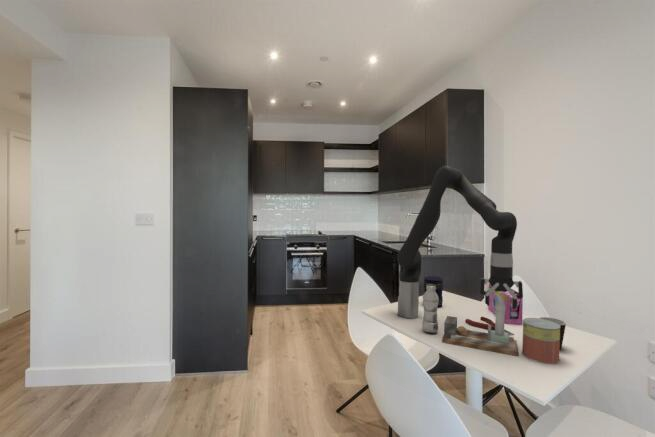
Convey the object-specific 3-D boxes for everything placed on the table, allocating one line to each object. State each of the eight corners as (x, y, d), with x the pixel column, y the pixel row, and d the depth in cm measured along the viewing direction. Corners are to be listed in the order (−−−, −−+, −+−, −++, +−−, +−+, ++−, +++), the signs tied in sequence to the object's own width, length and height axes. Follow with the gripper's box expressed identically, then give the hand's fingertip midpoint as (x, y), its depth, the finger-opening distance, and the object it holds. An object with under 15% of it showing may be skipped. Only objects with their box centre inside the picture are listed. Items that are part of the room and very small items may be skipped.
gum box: (524, 325, 148) (525, 296, 147) (505, 324, 149) (506, 295, 149) (503, 309, 172) (504, 283, 171) (487, 308, 173) (488, 283, 172)
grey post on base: (487, 343, 124) (488, 303, 123) (487, 337, 130) (488, 299, 129) (508, 346, 120) (509, 306, 120) (507, 340, 127) (508, 301, 126)
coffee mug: (566, 353, 119) (566, 326, 119) (538, 348, 124) (538, 322, 124) (563, 342, 129) (564, 317, 129) (537, 337, 134) (538, 313, 134)
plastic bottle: (430, 336, 135) (431, 287, 134) (418, 330, 141) (419, 284, 140) (441, 333, 138) (442, 286, 137) (429, 328, 144) (430, 282, 143)
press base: (442, 342, 128) (442, 323, 128) (445, 332, 139) (446, 314, 139) (518, 356, 117) (519, 335, 117) (516, 344, 128) (516, 325, 127)
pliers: (501, 340, 132) (501, 333, 132) (463, 323, 151) (463, 318, 151) (521, 336, 137) (521, 330, 137) (482, 320, 155) (482, 315, 155)
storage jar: (420, 303, 182) (421, 276, 181) (437, 302, 183) (438, 276, 182) (428, 308, 172) (428, 280, 171) (445, 308, 173) (446, 280, 172)
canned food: (528, 346, 125) (529, 315, 125) (563, 357, 117) (564, 323, 116) (517, 355, 118) (518, 322, 117) (554, 366, 109) (555, 331, 109)
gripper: (480, 264, 124) (479, 307, 124) (524, 267, 117) (523, 312, 118) (480, 261, 131) (480, 302, 131) (522, 264, 124) (521, 306, 125)
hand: (500, 307), depth 124 cm, fingers open, 8 cm apart
